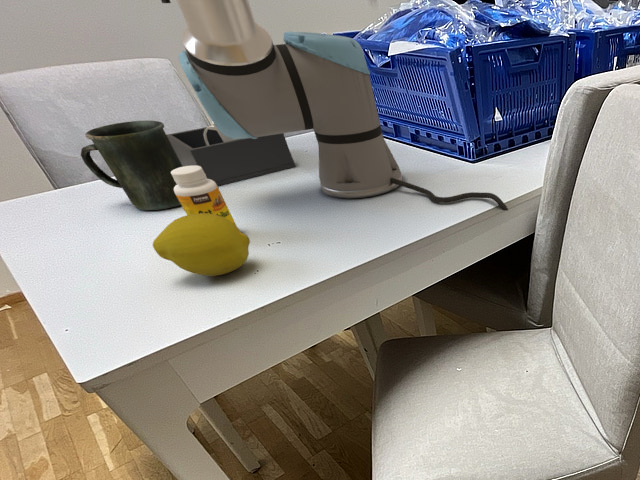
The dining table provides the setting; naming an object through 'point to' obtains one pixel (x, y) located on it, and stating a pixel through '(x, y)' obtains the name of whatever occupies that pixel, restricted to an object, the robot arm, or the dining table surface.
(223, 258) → the lemon
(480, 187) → the dining table surface
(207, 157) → the bin
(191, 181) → the supplement bottle
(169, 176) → the mug
